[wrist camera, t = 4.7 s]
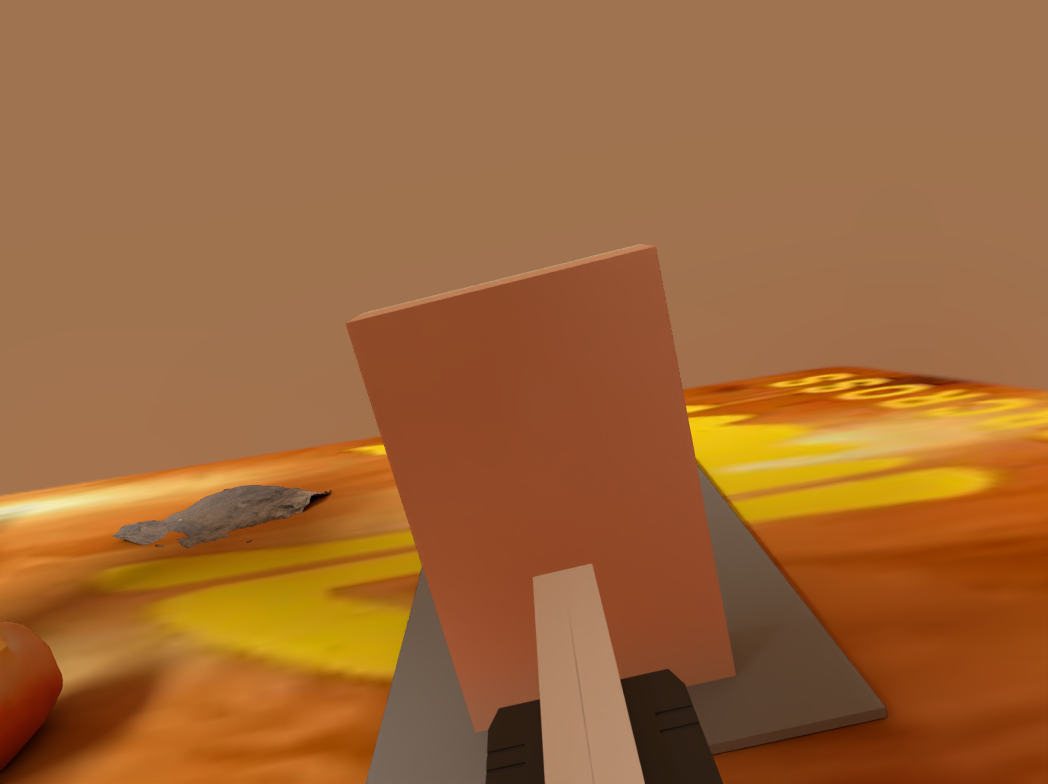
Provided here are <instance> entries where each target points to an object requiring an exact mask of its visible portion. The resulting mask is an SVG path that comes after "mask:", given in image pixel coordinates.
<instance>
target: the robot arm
mask: <svg viewBox="0 0 1048 784" xmlns="http://www.w3.org/2000/svg"><path fill="white" fill-rule="evenodd" d="M533 590H534V607H535V624H536V640H537V657H538V674H539V691H540V699H538V700H534V701H529V702H525V703H520V704H516V705H511V706H507V707H502V708H499V709H498V711H497V713H496V715H495V717H494V719H493V721H492V723H491V725H490V727H489V729H488V741H487V755H488V756H487V761H486V772H487V775H486V782H485V784H723V782H722V780H721V777H720V774H719V772H718V769H717V767H716V764H715V761H714V759H713V756H712V753H711V751H710V748H709V745H708V743H707V740H706V738H705V735H704V732H703V730H702V727H701V725H700V722H699V719H698V717H697V714H696V711H695V709H694V707H693V703H692V701H691V698H690V696H689V693H688V690H687V688H686V685H685V684H684V683H683V682H682V681H681V680H680V679H679V678H678V677H677V676H676V675H675V674H674V673H673V672H671V671H670V670H669V669H664V670H660V671H655V672H651V673H646V674H642V675H637V676H633V677H628V678H624V679H620V676H619V672H618V667H617V663H616V659H615V655H614V651H613V647H612V643H611V639H610V635H609V631H608V626H607V622H606V618H605V614H604V610H603V606H602V602H601V598H600V594H599V590H598V586H597V582H596V578H595V573H594V569H593V565H592V563H591V564H587V565H583V566H578V567H574V568H570V569H565V570H561V571H557V572H553V573H548V574H544V575H540V576H535V577H533Z"/></svg>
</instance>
